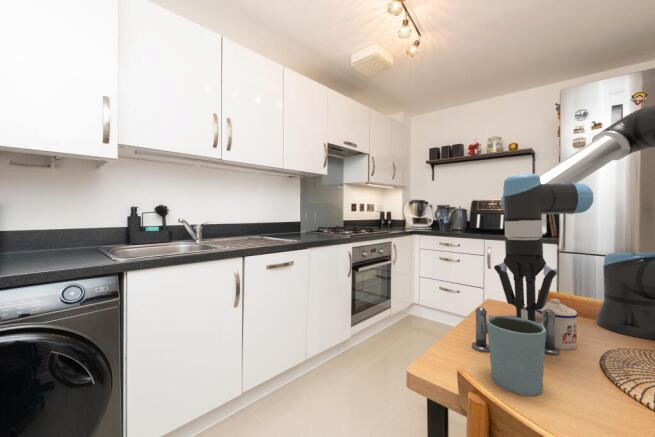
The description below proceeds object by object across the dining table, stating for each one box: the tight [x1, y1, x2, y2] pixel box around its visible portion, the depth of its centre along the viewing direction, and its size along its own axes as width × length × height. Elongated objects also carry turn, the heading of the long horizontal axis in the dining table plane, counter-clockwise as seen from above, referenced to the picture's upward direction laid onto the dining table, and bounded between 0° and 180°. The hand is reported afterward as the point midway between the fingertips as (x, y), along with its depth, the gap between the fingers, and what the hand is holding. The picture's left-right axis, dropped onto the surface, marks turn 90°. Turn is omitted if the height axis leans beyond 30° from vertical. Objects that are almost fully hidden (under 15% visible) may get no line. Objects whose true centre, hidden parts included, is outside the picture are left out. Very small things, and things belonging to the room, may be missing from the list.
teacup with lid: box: [535, 298, 579, 351], centre depth 75 cm, size 12×9×12 cm
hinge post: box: [542, 309, 561, 356], centre depth 70 cm, size 4×4×10 cm
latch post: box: [471, 306, 490, 353], centre depth 72 cm, size 5×4×10 cm
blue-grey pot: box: [486, 315, 546, 397], centre depth 57 cm, size 10×10×12 cm
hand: (526, 335), depth 68 cm, fingers closed
